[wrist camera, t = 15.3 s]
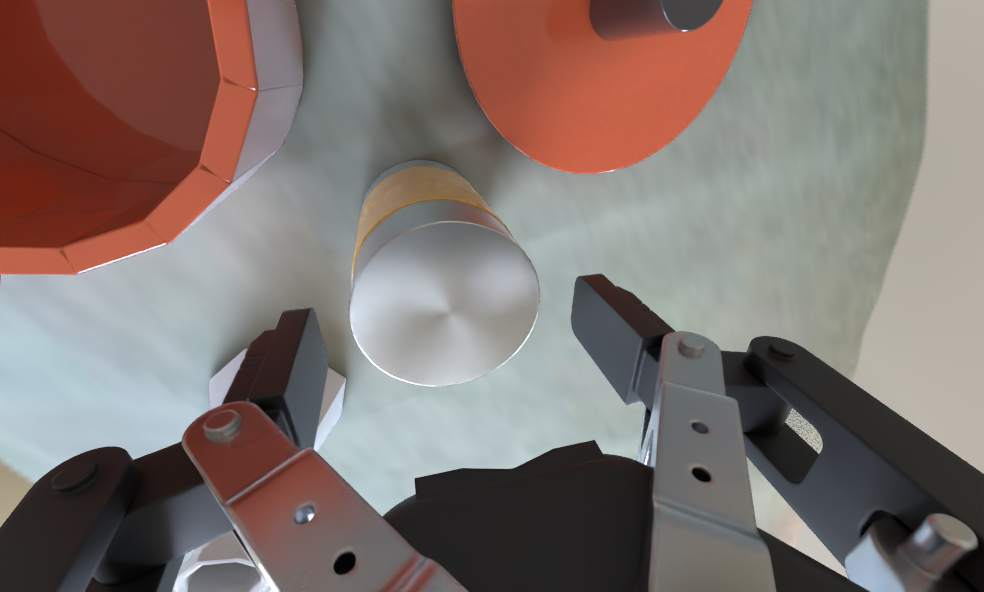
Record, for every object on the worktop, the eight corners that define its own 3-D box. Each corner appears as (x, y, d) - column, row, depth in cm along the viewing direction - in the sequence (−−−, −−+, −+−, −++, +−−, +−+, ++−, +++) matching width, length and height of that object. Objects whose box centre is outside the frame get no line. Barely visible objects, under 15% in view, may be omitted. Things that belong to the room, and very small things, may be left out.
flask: (317, 450, 26) (287, 636, 17) (189, 423, 22) (74, 637, 14) (367, 368, 23) (360, 536, 15) (234, 325, 20) (130, 509, 12)
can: (341, 249, 20) (317, 362, 12) (389, 133, 18) (397, 180, 10) (449, 290, 22) (486, 403, 15) (502, 193, 20) (576, 267, 13)
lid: (393, 76, 17) (400, 79, 11) (570, -361, 12) (710, -677, 7) (619, 211, 22) (691, 253, 17) (794, -51, 18) (960, -99, 13)
